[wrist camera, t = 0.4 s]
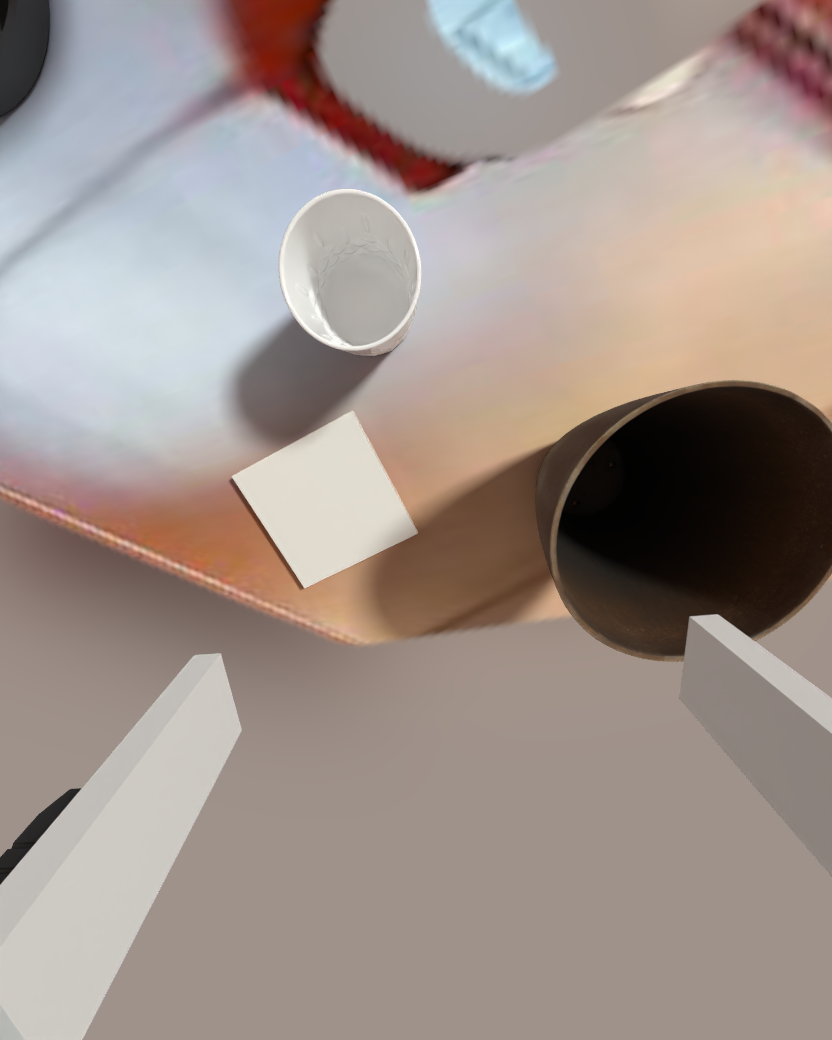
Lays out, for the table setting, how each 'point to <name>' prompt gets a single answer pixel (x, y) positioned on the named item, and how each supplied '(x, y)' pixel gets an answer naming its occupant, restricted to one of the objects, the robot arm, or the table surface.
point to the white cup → (351, 272)
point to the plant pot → (689, 514)
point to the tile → (327, 500)
